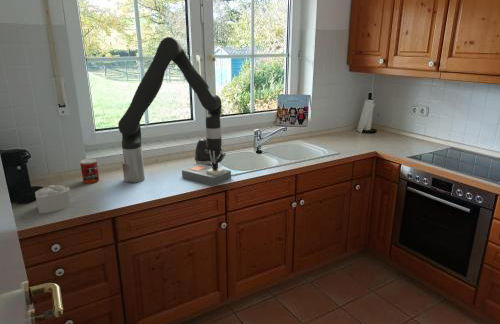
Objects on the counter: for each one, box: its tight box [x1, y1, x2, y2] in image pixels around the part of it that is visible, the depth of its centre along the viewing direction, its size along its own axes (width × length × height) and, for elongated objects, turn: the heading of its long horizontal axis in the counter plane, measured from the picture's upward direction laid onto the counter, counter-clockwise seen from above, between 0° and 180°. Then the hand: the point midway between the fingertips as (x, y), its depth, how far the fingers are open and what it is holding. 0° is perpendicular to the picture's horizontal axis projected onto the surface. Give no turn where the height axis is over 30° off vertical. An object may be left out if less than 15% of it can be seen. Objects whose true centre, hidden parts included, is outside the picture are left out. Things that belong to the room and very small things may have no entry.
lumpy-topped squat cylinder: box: [34, 184, 73, 214], centre depth 156 cm, size 10×13×9 cm
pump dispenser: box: [194, 138, 212, 166], centre depth 209 cm, size 10×10×15 cm
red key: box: [190, 166, 205, 171], centre depth 193 cm, size 6×6×4 cm
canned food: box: [79, 158, 100, 185], centre depth 185 cm, size 8×8×11 cm
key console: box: [181, 163, 232, 186], centre depth 189 cm, size 13×22×4 cm, turn 55°
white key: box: [207, 167, 224, 176], centre depth 186 cm, size 6×6×4 cm
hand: (215, 169), depth 185 cm, fingers closed
